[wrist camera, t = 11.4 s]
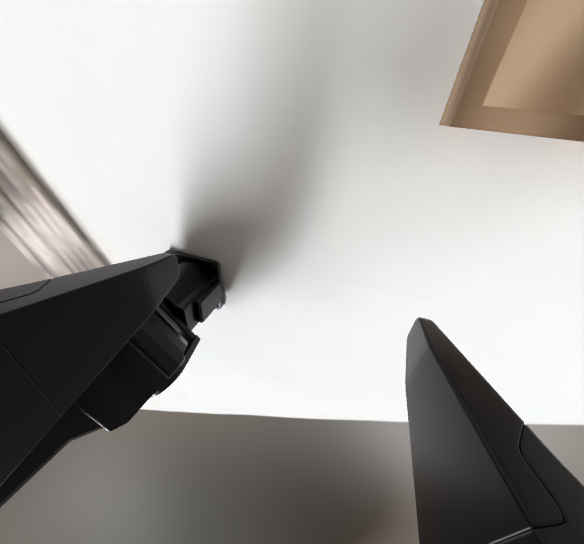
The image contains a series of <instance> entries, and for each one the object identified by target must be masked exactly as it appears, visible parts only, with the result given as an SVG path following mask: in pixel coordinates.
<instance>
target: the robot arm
mask: <svg viewBox="0 0 584 544" xmlns="http://www.w3.org/2000/svg"><path fill="white" fill-rule="evenodd" d="M213 265H214V266H215V267H214V266H213ZM222 299H223V295H222V283H221V279H220V267H219V264H218V263H217V262H216V261H212V260H208V259H204V258H200V257H196V256H192V255H188V254H184V253H180V252H176V251H172V250H167V251H166V252H165V253H162V254H157V255H153V256H148V257H144V258H140V259H135V260H131V261H126V262H122V263H118V264H113V265H109V266H105V267H100V268H96V269H91V270H87V271H83V272H78V273H74V274H70V275H65V276H61V277H56V278H53V279H47V280H43V281H39V282H34V283H30V284H25V285H20V286H16V287H11V288H6V289H1V290H0V507H1V506H2V505H3V504H4V503H5V502H6V501H8V500H9V499H10V498H11V497H12V496H13V495H14V494H15V493H16V492H17V491H18V490H19V489H20V488H21V487H22V486H23V485H24V484H25V483H26V482H27V481H29V480H30V479H31V478H32V477H33V476H34V475H35V474H36V473H37V472H38V471H39V470H40V469H41V468H42V467H43V466H44V465H45V464H46V463H47V462H48V461H50V460H51V459H52V458H53V457H54V456H55V455H56V454H57V453H58V452H59V451H60V450H61V449H62V448H63V447H64V446H66V445H67V444H68V443H69V442H70V441H72V440H74V439H77V438H79V437H82V436H84V435H87V434H89V433H92V432H94V431H97V430H99V429H102V428H105V429H106V430H107V431H112V430H114V429H116V428H118V427H120V426H122V425H124V424H126V423H127V422H128V421H129V420H130V419H131V418H132V417H133V416H134V415H135V414H136V413H137V411H138V410H139V409H140V408H141V407H142V406H143V405H144V404H145V402H146V401H147V400H148V399H149V398H150V397H154V396H156V395H158V394H160V393H161V392H163V391H164V390H165V389H166V388H168V387H169V386H170V385H171V384H172V383H173V382H174V381H175V380H176V379H177V378H178V376H179V375H180V374H181V373H182V371H183V369H184V368H185V366H186V364H187V363H188V361H189V359H190V357H191V355H192V354H193V352H194V350H195V348H196V346H197V345H198V343H199V341H200V338H199V337H198V336H197V335H195V334H194V333H193V332H192V331H191V330H192V329H193V328H194V327H195V326H196V325H197V324H198V322H201V323H202V322H204V321H205V319H206V318H207V317H208V316H209V315H210V314H211V312H212V311H213V310H214V309H220V308H221V307H222V306H223V303H222ZM405 384H406V398H407V409H408V420H409V430H410V443H411V453H412V465H413V475H414V487H415V499H416V510H417V521H418V532H419V543H420V544H584V485H582V483H580V481H579V480H578V479H577V478H576V477H574V475H573V474H572V473H571V472H570V471H569V470H568V469H567V468H566V467H565V466H564V465H563V464H562V463H561V462H560V461H559V460H558V459H557V458H556V456H555V455H554V454H553V453H552V452H551V451H550V450H549V449H548V448H547V447H546V446H545V445H544V444H543V443H542V441H541V440H540V439H539V438H538V437H537V436H536V435H535V434H534V433H533V431H532V430H531V429H530V428H529V427H528V426H527V425H524V422H523V421H522V419H521V418H520V417H519V416H518V415H517V414H516V413H515V412H514V411H513V410H512V408H511V407H510V406H509V405H508V404H507V403H506V402H505V401H504V400H503V398H502V397H501V396H500V395H499V394H498V393H497V392H496V391H495V390H494V389H493V387H492V386H491V385H490V384H489V383H488V382H487V381H486V380H485V379H484V377H483V376H482V375H481V374H480V373H479V372H478V371H477V370H476V369H475V368H474V366H473V365H472V364H471V363H470V362H469V361H468V360H467V359H466V358H465V356H464V355H463V354H462V353H461V352H460V351H459V350H458V349H457V348H456V346H455V345H454V344H453V343H452V342H451V341H450V340H449V339H448V338H447V337H446V335H445V334H444V333H443V332H442V331H441V330H440V329H439V328H438V327H437V325H436V324H435V323H434V322H433V321H431V320H428V319H424V318H420V317H419V318H417V319H416V321H415V323H414V325H413V326H412V328H411V330H410V332H409V334H408V337H407V350H406V379H405Z"/></svg>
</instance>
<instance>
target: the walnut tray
mask: <svg viewBox="0 0 584 544" xmlns="http://www.w3.org/2000/svg"><path fill="white" fill-rule="evenodd" d="M439 125H444V126H450V127H459V128H468V129H477V130H486V131H495V132H503V133H512V134H521V135H530V136H539V137H548V138H556V139H565V140H574V141H583V142H584V0H484V3H483V6H482V9H481V11H480V14H479V17H478V20H477V22H476V25H475V28H474V31H473V33H472V36H471V39H470V42H469V44H468V47H467V50H466V53H465V55H464V58H463V61H462V64H461V66H460V69H459V72H458V75H457V77H456V80H455V83H454V86H453V88H452V91H451V94H450V97H449V99H448V102H447V105H446V108H445V110H444V113H443V116H442V119H441V121H440V124H439Z"/></svg>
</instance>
